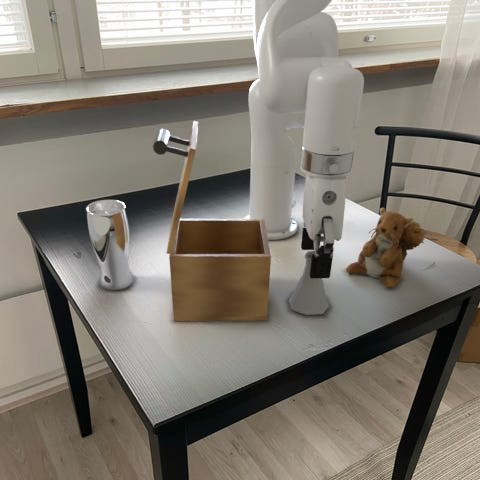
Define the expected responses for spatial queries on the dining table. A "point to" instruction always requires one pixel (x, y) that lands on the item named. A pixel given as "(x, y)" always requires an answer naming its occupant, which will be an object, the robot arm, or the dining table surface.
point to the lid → (161, 148)
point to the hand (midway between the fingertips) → (314, 262)
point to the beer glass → (110, 242)
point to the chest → (220, 270)
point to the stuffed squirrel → (388, 248)
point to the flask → (309, 292)
